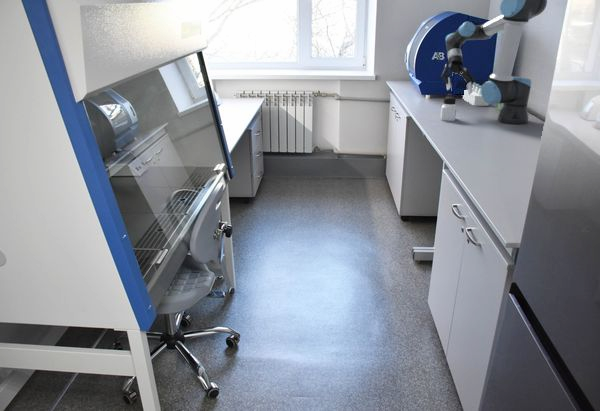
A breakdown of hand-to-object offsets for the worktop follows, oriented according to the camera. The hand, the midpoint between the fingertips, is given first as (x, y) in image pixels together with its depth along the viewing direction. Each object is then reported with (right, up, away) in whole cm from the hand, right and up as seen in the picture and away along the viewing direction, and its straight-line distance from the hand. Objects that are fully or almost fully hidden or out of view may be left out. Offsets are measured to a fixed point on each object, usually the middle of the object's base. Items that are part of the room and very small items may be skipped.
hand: (459, 91), depth 264 cm
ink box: (+34, -6, +24) cm, 42 cm away
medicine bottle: (-6, -15, +3) cm, 16 cm away
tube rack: (+25, +4, +45) cm, 52 cm away
